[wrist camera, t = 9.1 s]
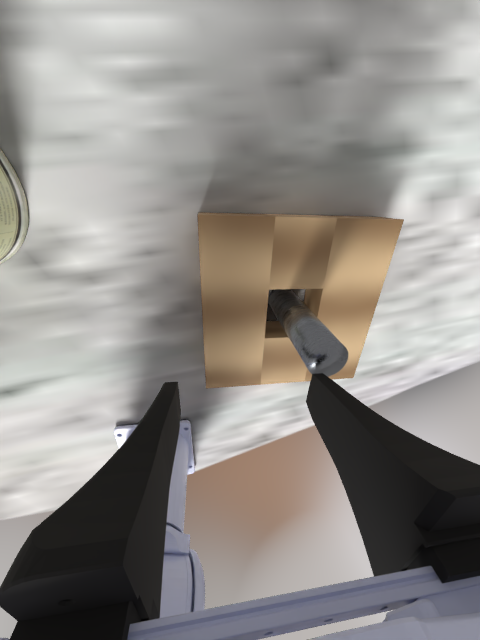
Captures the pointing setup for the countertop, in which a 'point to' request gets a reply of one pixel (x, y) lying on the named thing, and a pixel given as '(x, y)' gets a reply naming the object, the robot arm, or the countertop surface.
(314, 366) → the pin
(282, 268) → the tan slotted block
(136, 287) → the countertop surface
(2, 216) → the coffee can
